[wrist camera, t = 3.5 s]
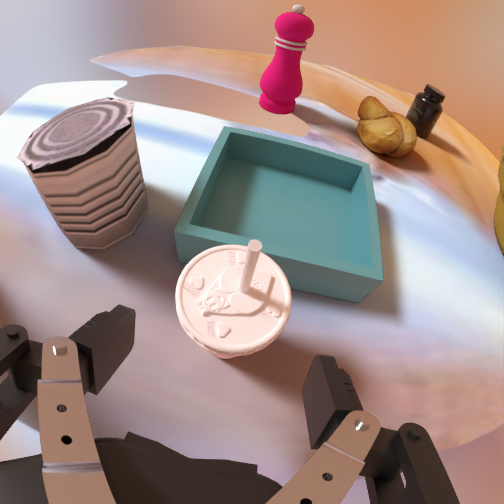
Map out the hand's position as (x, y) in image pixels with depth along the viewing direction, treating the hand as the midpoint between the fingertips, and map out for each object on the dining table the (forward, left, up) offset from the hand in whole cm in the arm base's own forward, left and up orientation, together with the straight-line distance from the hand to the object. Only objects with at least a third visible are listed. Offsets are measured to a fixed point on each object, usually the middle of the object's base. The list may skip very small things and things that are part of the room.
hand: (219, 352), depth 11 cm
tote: (+3, +18, -11) cm, 21 cm away
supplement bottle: (+31, +56, -12) cm, 65 cm away
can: (-17, +14, -12) cm, 25 cm away
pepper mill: (-1, +44, -12) cm, 45 cm away
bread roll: (+19, +41, -12) cm, 47 cm away
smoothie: (0, +4, -12) cm, 12 cm away
